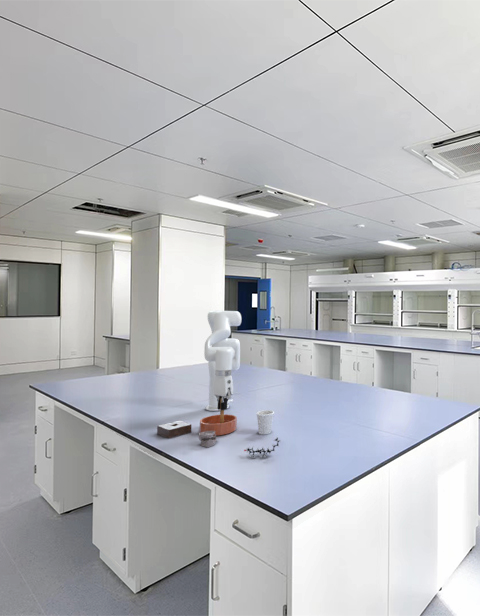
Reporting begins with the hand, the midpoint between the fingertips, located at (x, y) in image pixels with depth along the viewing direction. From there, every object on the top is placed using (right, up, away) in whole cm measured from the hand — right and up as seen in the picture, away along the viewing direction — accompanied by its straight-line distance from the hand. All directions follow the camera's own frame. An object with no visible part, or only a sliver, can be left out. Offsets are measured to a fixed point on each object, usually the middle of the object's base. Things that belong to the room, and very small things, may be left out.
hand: (222, 409), depth 190 cm
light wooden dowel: (0, -9, 0) cm, 9 cm away
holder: (-20, -10, -7) cm, 23 cm away
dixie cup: (+23, -11, -3) cm, 25 cm away
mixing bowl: (-1, -10, -3) cm, 11 cm away
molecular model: (+32, -11, -32) cm, 46 cm away
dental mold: (+3, -11, -20) cm, 23 cm away
